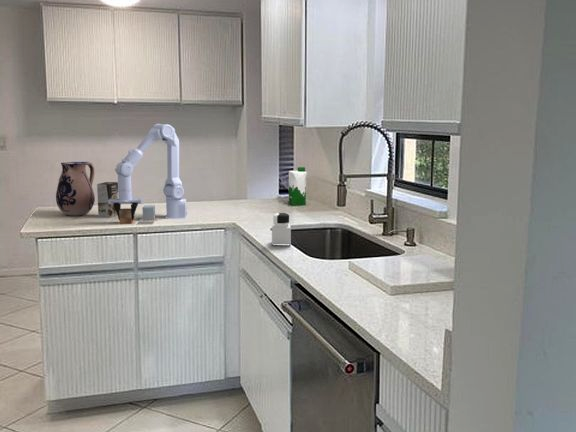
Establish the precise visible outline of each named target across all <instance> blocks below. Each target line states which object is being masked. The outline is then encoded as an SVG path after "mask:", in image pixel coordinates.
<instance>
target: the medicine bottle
mask: <svg viewBox="0 0 576 432" xmlns="http://www.w3.org/2000/svg"><path fill="white" fill-rule="evenodd" d="M291 239H292V229H291V224H290V215H289V214H288V213H286V212H277V213H274V214H273V223H272V224H271V245H272V244H289V245H292V241H291Z"/></svg>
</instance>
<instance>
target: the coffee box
mask: <svg viewBox="0 0 576 432" xmlns="http://www.w3.org/2000/svg"><path fill="white" fill-rule="evenodd" d="M96 189H97V192H96V193H97V211H98V213H97V214H98V215H97V217H98V218H105V219H106V218H107V219H111V218H114V217H118V215H117V212H116V210H115V208H114V207H113V204H109V202H108V200H109V199H119V192H118V181H105V182H100V183H97V184H96Z"/></svg>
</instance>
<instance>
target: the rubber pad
mask: <svg viewBox="0 0 576 432" xmlns="http://www.w3.org/2000/svg"><path fill="white" fill-rule="evenodd" d="M154 223H155V221H140V220H139V221H138V222H136V223H135V224H136V226H138V225H144V226H145V225H153V224H154Z"/></svg>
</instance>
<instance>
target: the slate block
mask: <svg viewBox="0 0 576 432" xmlns="http://www.w3.org/2000/svg"><path fill="white" fill-rule="evenodd" d="M142 218H143V220H154V219H155V218H156V205H152V204H151V205H150V204H149V205H143V206H142Z"/></svg>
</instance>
